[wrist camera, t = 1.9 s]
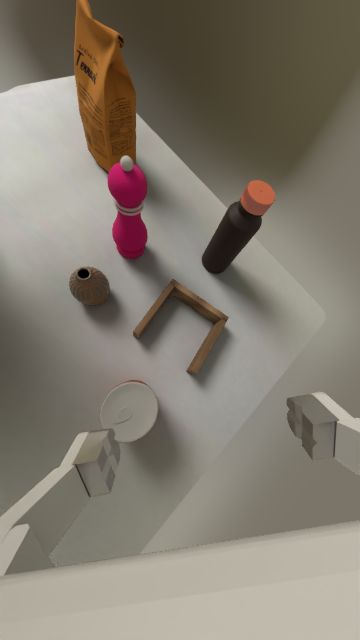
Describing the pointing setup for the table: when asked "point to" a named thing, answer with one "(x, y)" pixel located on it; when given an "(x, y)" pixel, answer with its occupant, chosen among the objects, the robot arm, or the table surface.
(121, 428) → the canned food
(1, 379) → the table surface
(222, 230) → the bottle
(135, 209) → the pepper mill
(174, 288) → the bay
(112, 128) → the coffee package
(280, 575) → the robot arm
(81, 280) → the vase
